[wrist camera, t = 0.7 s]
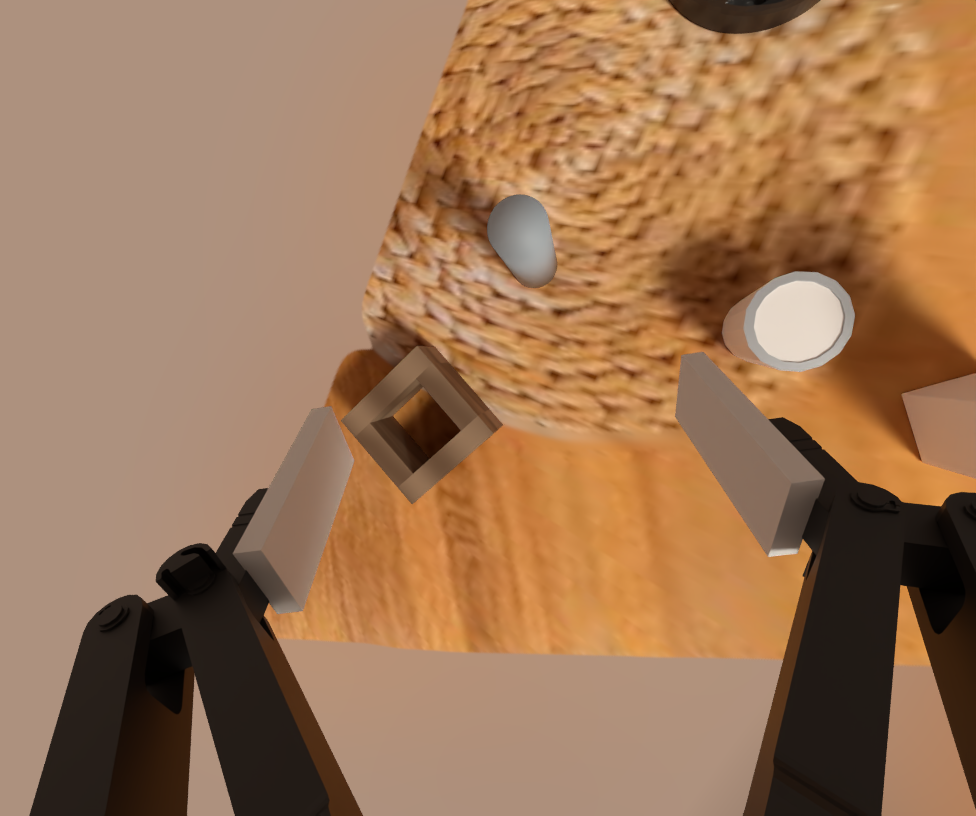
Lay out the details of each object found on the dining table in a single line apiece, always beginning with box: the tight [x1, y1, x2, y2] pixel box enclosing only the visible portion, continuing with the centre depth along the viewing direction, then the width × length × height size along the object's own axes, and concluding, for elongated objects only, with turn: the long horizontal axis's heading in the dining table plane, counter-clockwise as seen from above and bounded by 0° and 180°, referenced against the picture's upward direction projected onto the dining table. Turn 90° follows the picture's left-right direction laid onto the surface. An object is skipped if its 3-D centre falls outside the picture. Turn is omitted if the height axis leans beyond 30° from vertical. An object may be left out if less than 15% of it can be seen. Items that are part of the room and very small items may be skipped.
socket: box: [341, 346, 503, 504], centre depth 41 cm, size 10×10×5 cm
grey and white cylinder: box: [722, 271, 855, 372], centre depth 34 cm, size 7×7×7 cm
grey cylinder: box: [487, 195, 557, 288], centre depth 34 cm, size 4×4×12 cm
